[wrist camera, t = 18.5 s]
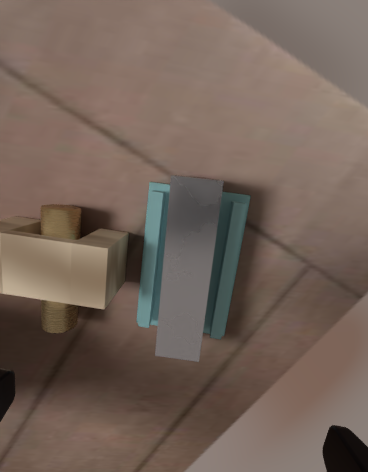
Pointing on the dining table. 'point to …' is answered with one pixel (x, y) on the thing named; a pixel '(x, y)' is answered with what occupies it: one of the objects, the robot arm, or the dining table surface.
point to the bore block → (61, 264)
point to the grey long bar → (187, 265)
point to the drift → (65, 226)
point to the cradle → (222, 266)
